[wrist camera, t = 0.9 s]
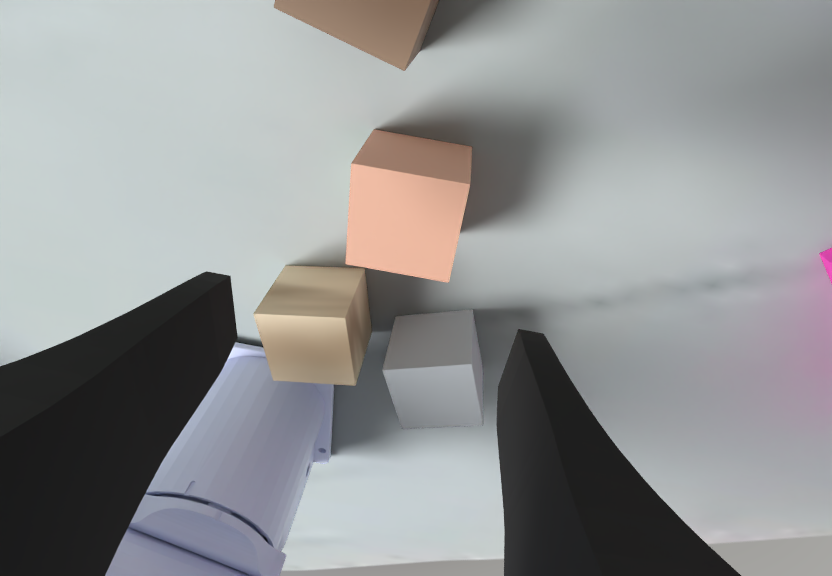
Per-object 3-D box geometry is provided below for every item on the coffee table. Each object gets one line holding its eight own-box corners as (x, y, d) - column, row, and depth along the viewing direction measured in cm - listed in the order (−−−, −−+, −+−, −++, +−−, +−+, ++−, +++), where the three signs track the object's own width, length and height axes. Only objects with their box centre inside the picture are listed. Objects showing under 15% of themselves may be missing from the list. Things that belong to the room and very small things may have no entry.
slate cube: (482, 366, 25) (483, 425, 22) (411, 371, 26) (401, 428, 23) (472, 308, 23) (471, 363, 20) (395, 315, 24) (382, 370, 21)
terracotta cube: (453, 233, 21) (448, 282, 18) (366, 217, 21) (345, 264, 18) (472, 146, 18) (470, 184, 15) (374, 128, 18) (351, 163, 15)
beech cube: (372, 330, 25) (355, 385, 21) (300, 327, 25) (273, 380, 22) (364, 267, 22) (345, 318, 19) (286, 264, 23) (253, 313, 20)
